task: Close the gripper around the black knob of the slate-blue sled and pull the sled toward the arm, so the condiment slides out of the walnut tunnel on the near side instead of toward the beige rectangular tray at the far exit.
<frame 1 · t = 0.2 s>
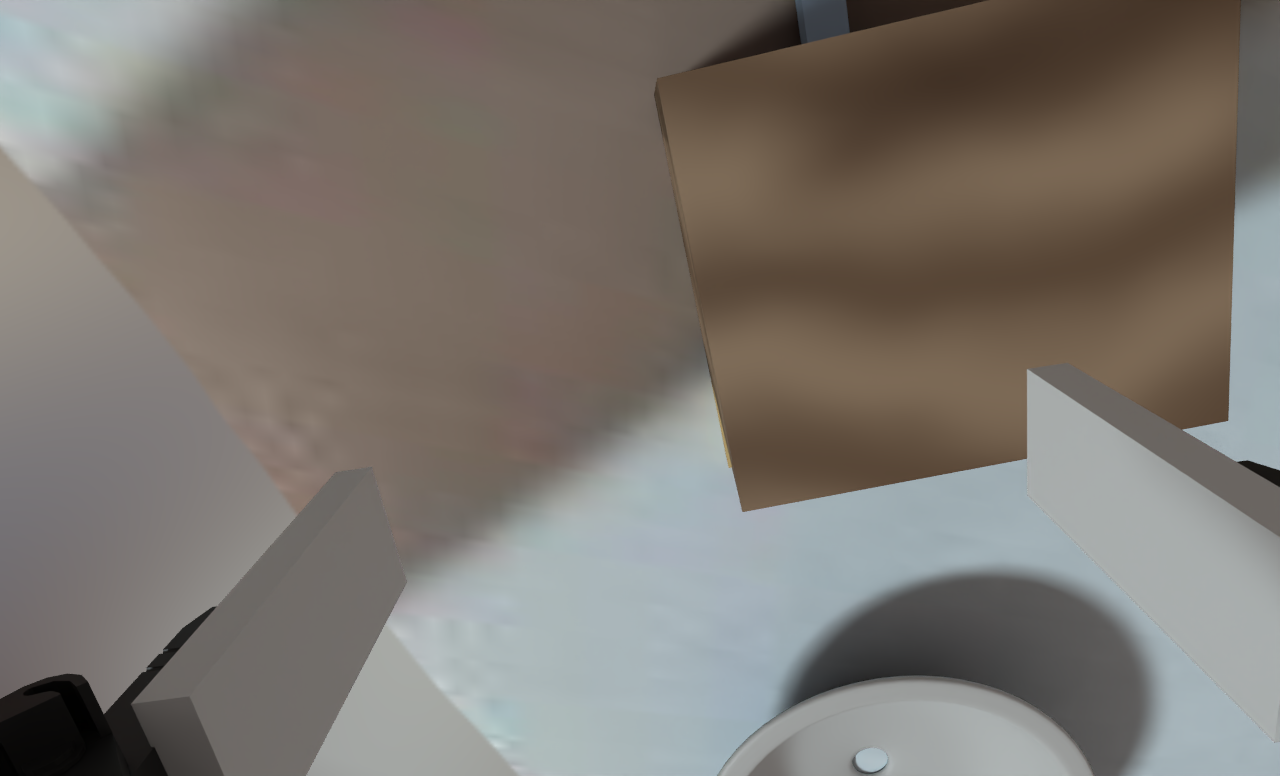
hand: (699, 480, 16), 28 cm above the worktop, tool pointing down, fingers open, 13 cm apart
tunnel: (842, 206, 41), on the worktop
soup bowl: (868, 756, 53), on the worktop
sled: (846, 2, 32), point 6 cm above the worktop, slide at -0.4 cm, touching condiment
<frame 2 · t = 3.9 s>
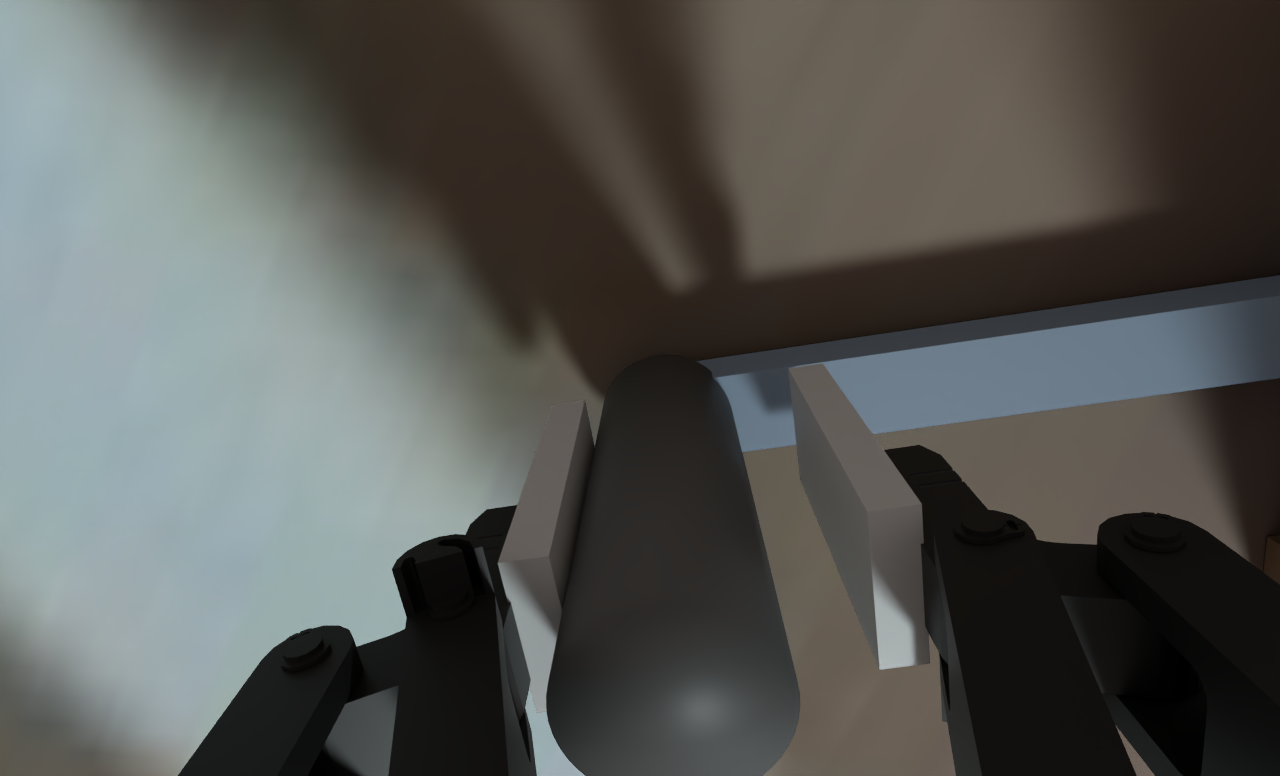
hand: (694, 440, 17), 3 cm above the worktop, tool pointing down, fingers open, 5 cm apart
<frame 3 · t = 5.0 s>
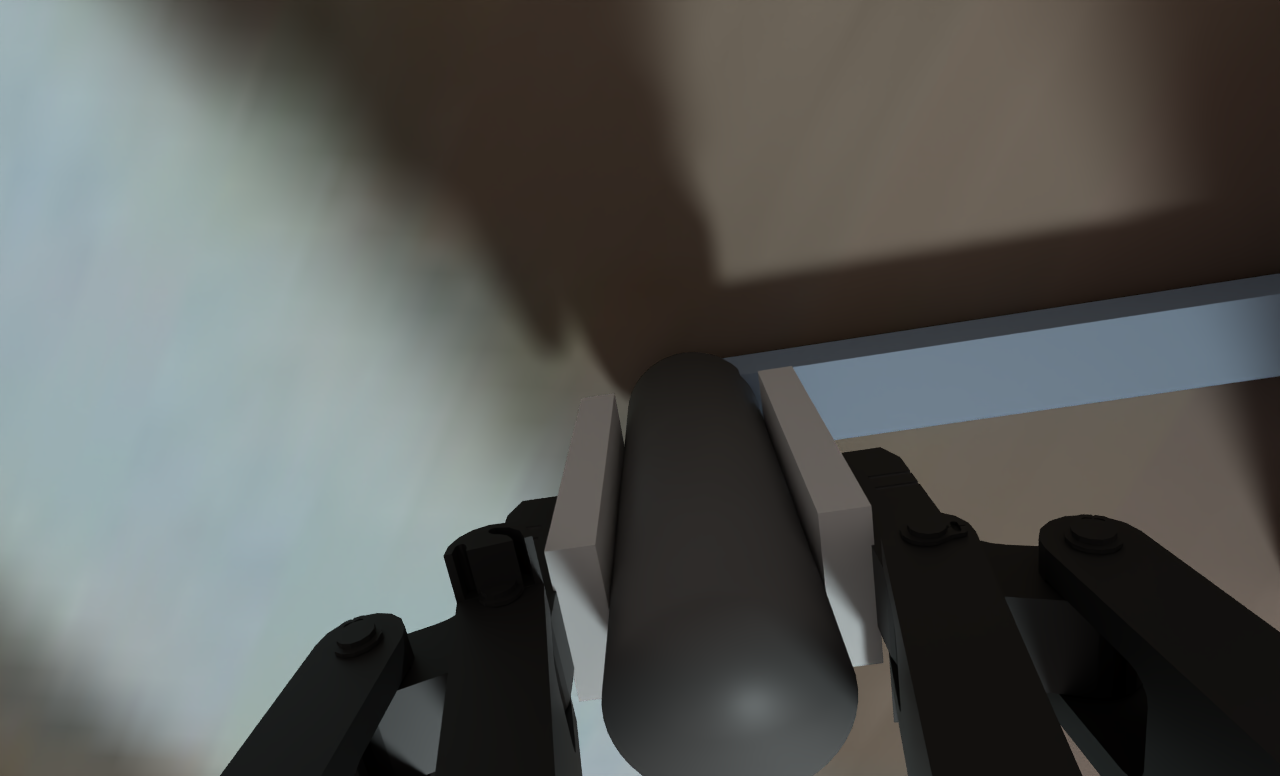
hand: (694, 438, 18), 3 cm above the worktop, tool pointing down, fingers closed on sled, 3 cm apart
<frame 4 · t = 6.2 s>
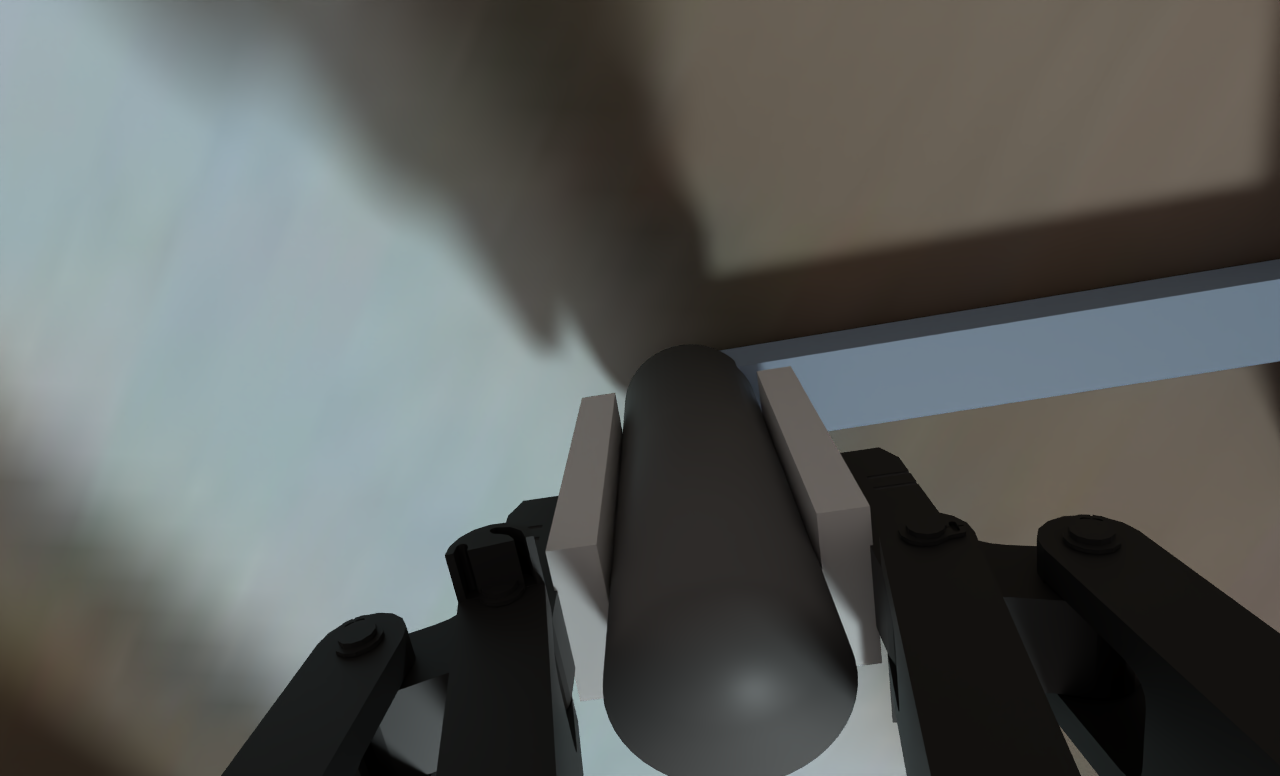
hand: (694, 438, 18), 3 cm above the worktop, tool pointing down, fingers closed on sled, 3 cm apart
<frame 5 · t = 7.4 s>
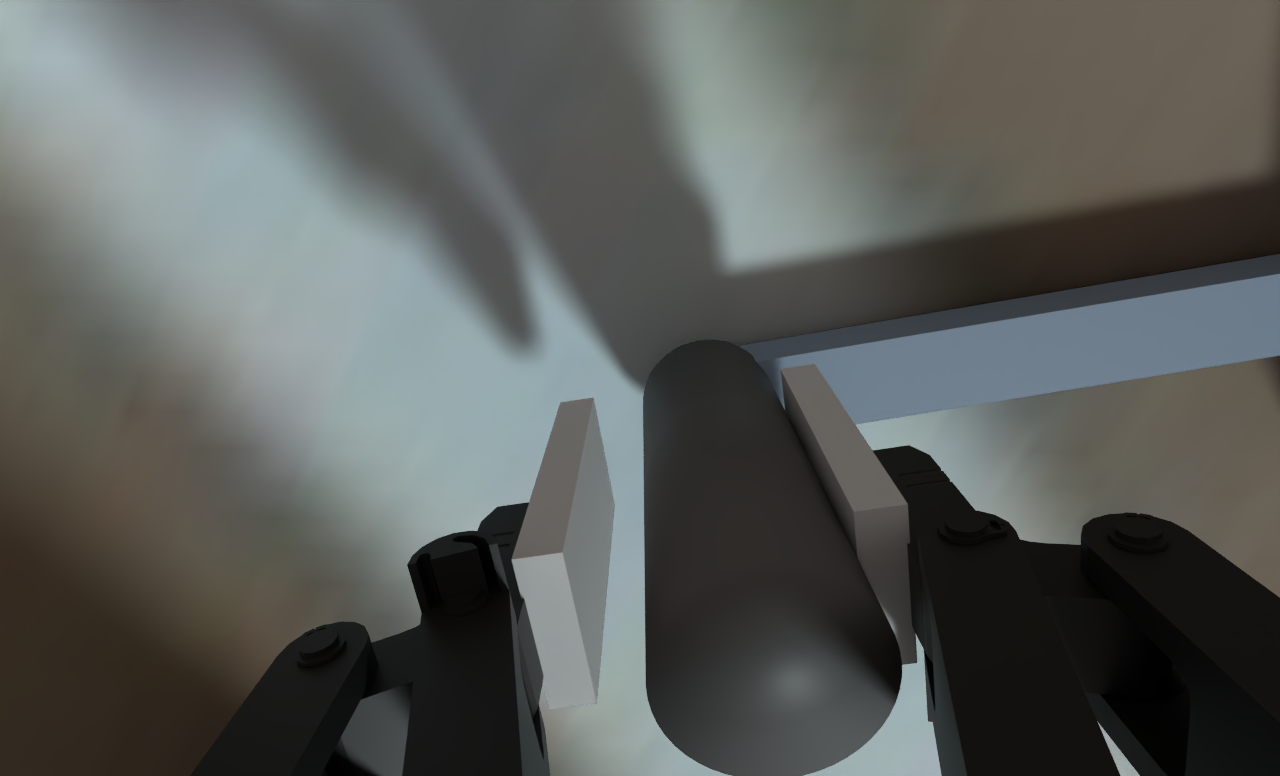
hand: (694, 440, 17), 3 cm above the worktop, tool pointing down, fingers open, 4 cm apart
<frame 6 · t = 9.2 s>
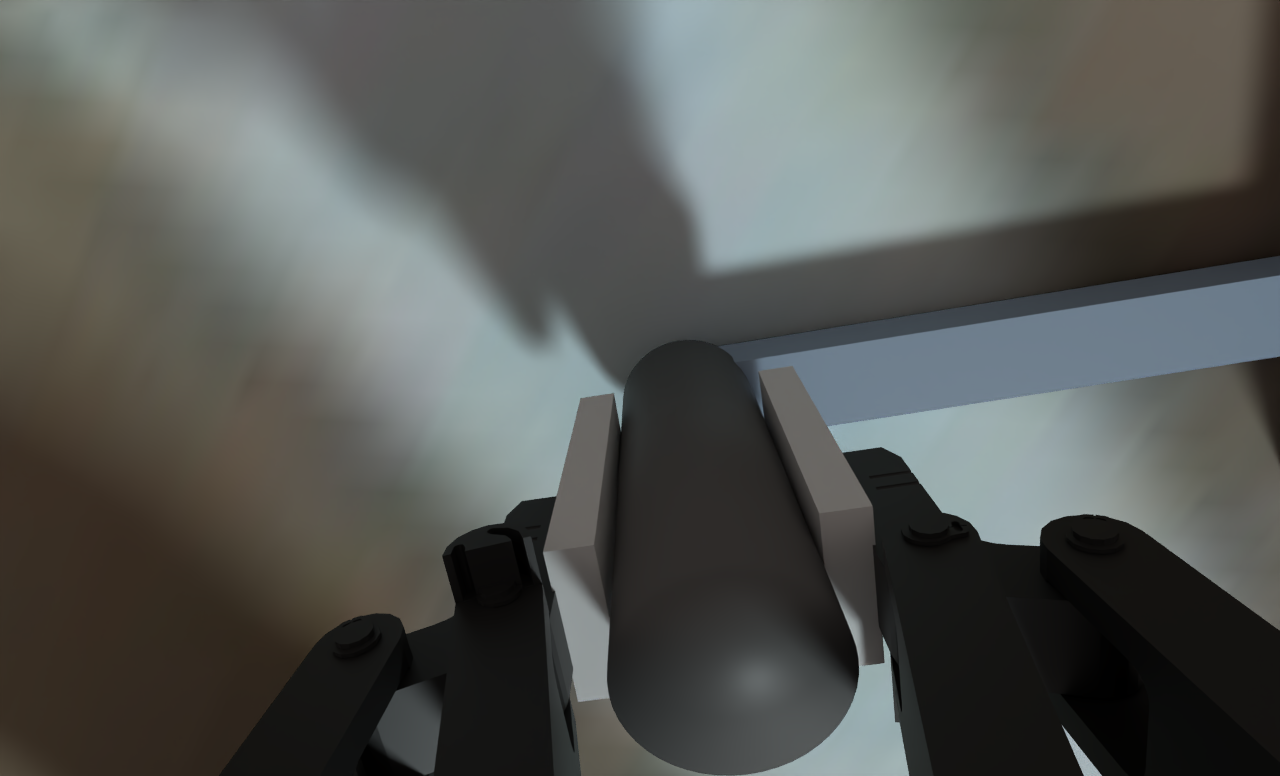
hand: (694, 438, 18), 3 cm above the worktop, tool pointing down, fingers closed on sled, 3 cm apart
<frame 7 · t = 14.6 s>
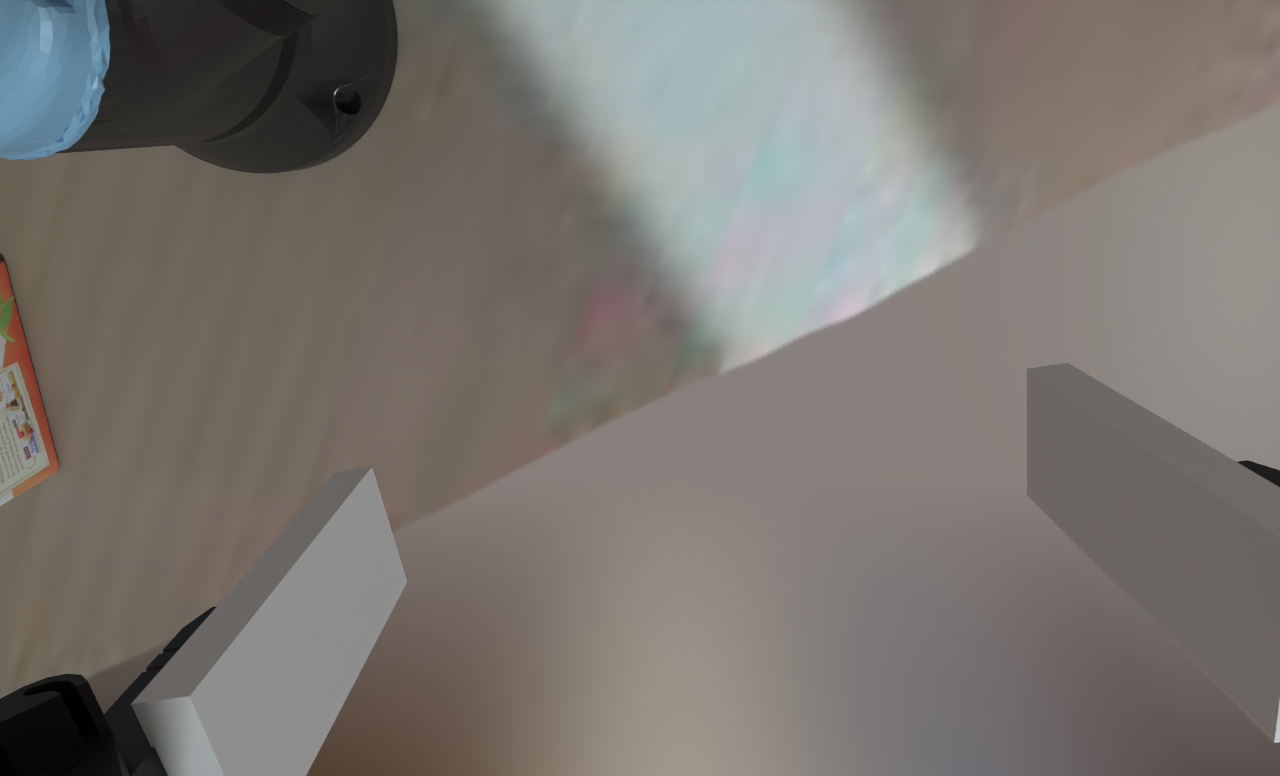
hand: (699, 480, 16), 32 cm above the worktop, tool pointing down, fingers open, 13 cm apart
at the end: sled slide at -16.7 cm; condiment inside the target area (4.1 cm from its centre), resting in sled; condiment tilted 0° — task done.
